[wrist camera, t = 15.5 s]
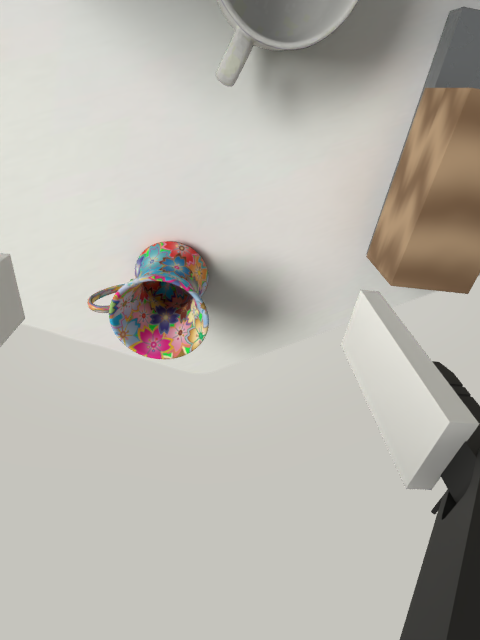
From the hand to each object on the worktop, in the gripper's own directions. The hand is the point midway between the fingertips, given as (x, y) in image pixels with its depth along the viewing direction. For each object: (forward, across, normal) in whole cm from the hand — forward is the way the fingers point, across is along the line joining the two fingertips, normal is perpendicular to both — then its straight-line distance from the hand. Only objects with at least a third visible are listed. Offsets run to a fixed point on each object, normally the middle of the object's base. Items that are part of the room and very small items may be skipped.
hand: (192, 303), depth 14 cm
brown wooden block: (+25, +22, +1) cm, 33 cm away
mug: (+27, -5, -12) cm, 30 cm away
